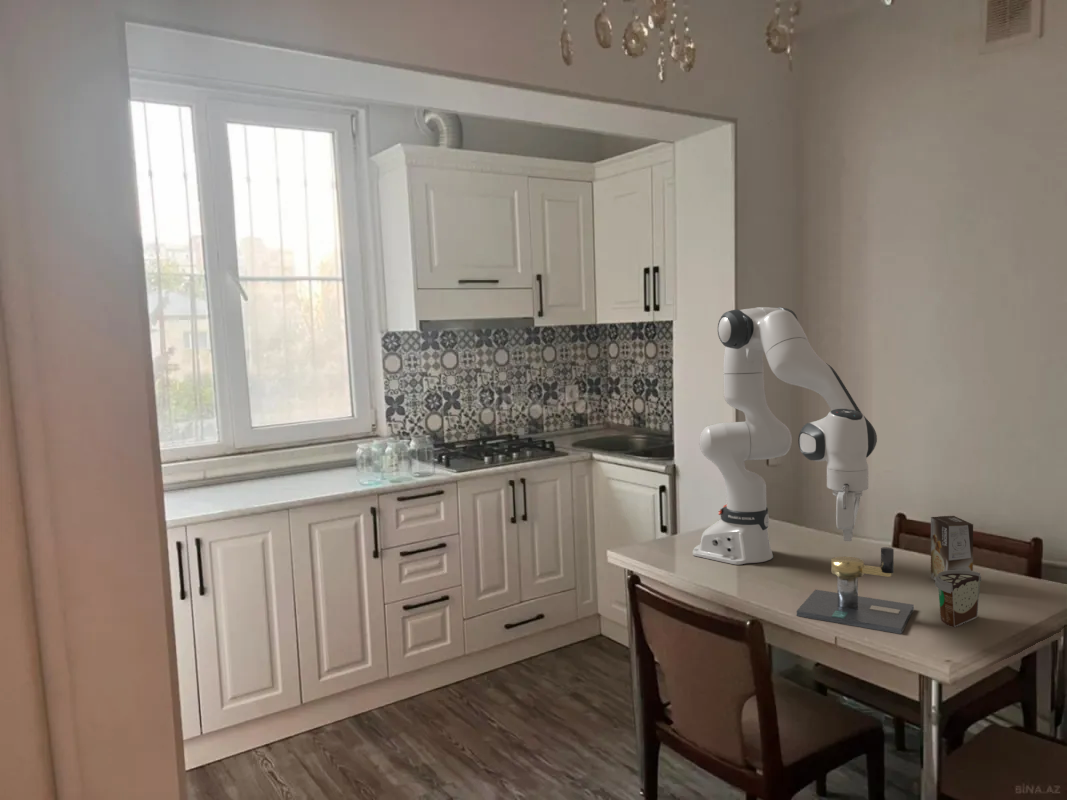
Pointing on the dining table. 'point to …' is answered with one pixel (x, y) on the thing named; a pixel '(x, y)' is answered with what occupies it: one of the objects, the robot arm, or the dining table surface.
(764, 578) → the dining table surface
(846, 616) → the labelled display base
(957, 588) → the food container
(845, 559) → the brass crank knob
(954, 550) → the coffee box
